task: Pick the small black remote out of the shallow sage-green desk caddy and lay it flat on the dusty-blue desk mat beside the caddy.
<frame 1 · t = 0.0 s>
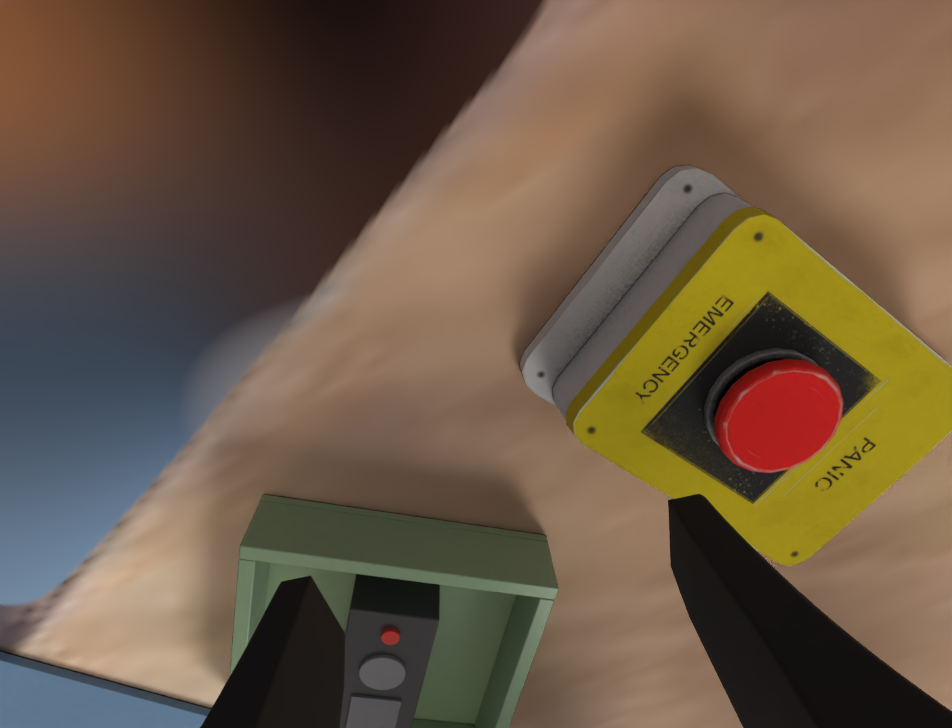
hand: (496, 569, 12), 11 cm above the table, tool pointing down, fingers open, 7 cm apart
remote: (385, 630, 26), resting on caddy
caddy: (386, 623, 27), on the table
emergency button: (738, 376, 22), on the table
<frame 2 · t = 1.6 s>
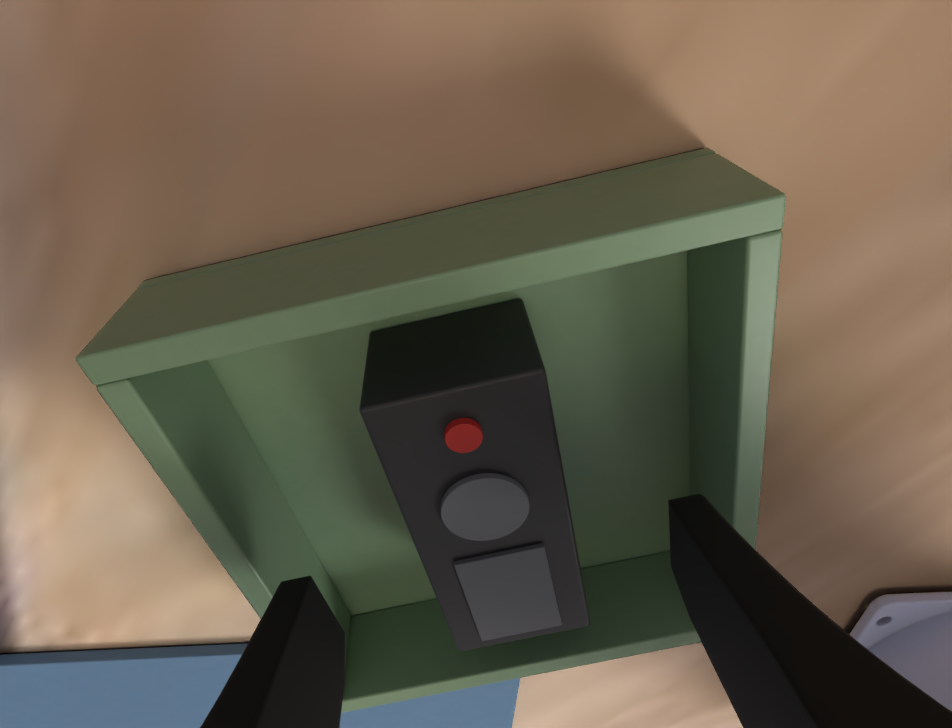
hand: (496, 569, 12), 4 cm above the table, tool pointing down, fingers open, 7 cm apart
remote: (482, 449, 15), resting on caddy
caddy: (480, 438, 15), on the table
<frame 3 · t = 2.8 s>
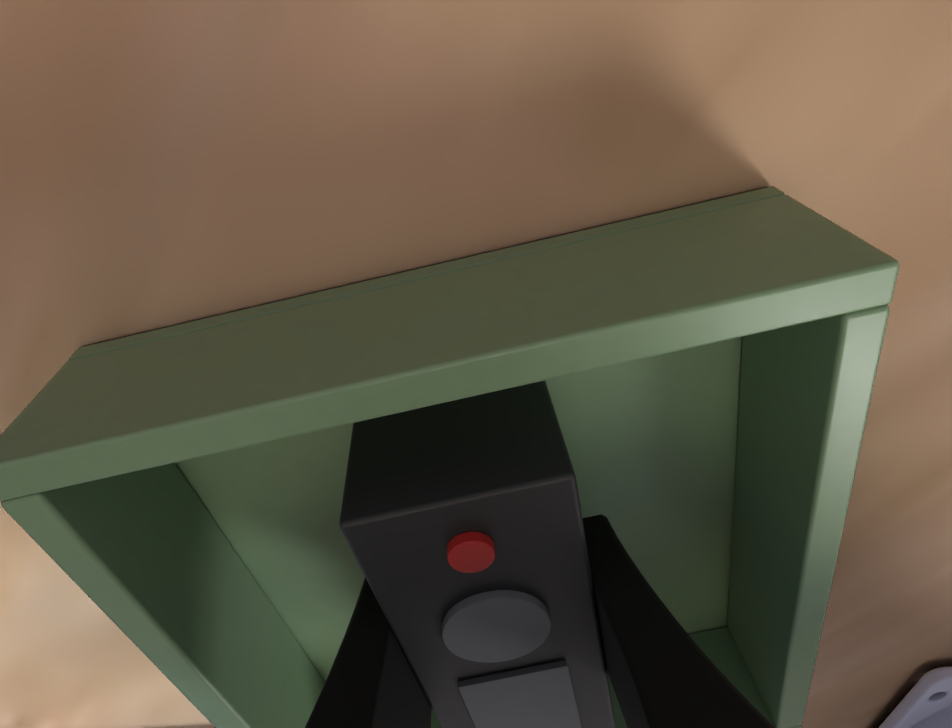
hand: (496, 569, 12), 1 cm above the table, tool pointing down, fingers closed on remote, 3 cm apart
remote: (490, 530, 13), resting on caddy, touching gripper
caddy: (488, 516, 13), on the table
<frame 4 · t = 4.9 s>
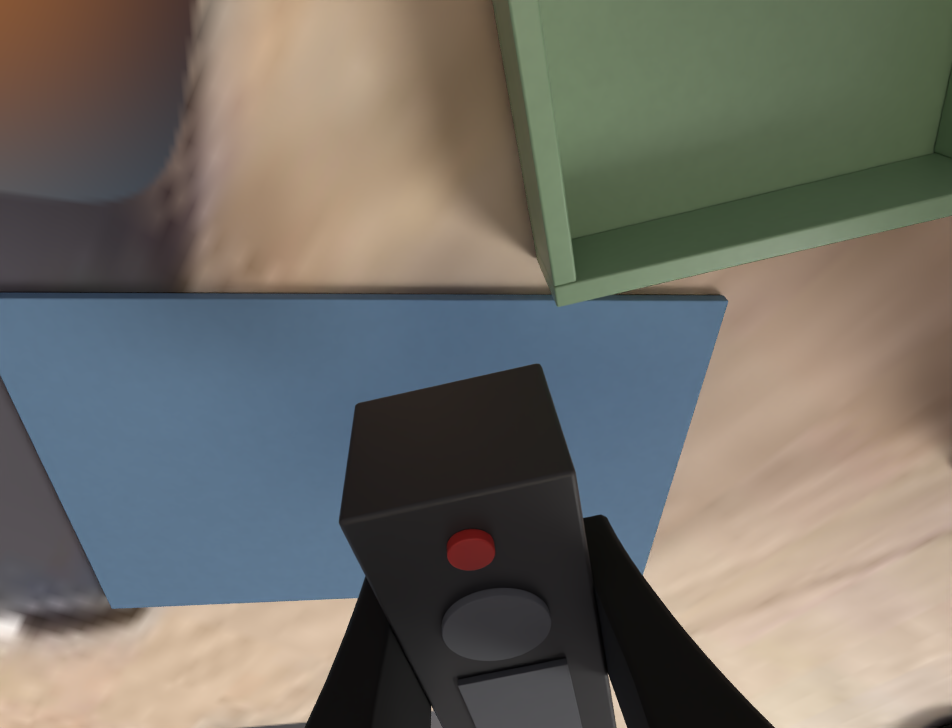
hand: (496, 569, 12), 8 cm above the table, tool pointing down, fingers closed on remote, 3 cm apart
remote: (490, 528, 13), point 7 cm above the table, touching gripper
mat: (379, 467, 21), on the table
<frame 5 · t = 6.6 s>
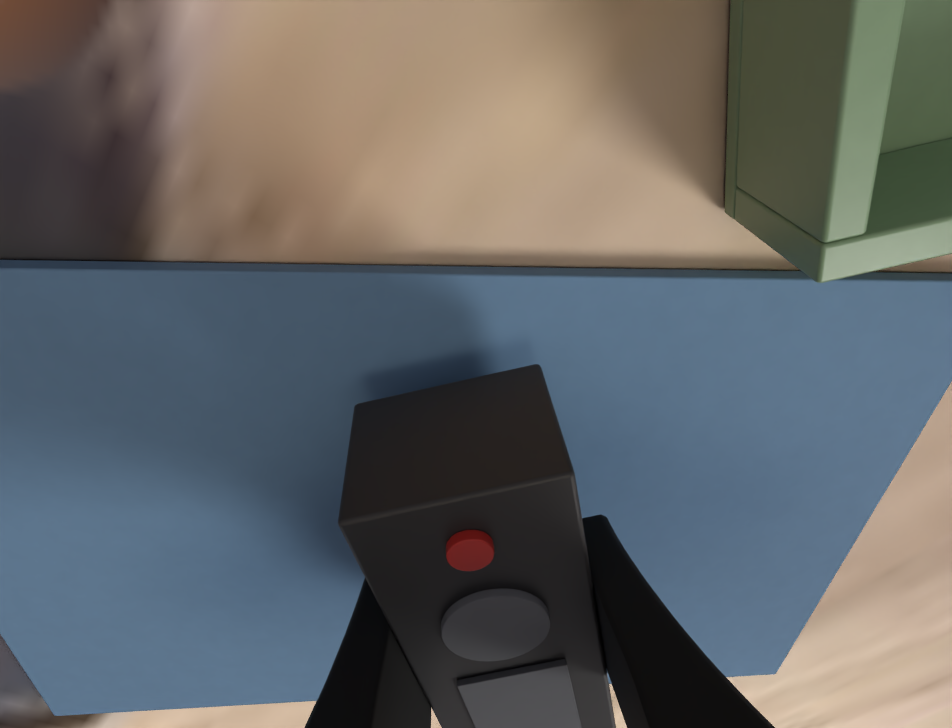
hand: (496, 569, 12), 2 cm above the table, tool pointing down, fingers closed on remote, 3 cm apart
remote: (489, 529, 13), point 1 cm above the table, touching gripper
mat: (441, 527, 15), on the table
when the fingers open (1 cm above the table, at t = 7.3 s): remote stays where it is, resting on mat.
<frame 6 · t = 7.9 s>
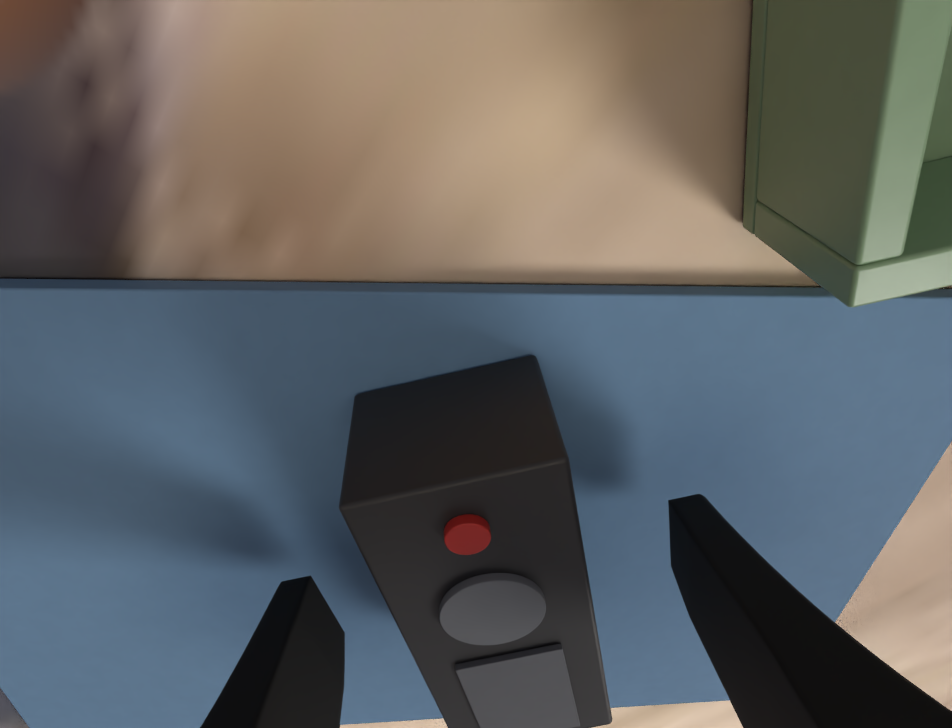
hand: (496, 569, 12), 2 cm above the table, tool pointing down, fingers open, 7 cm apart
remote: (487, 518, 13), resting on mat
mat: (441, 551, 14), on the table
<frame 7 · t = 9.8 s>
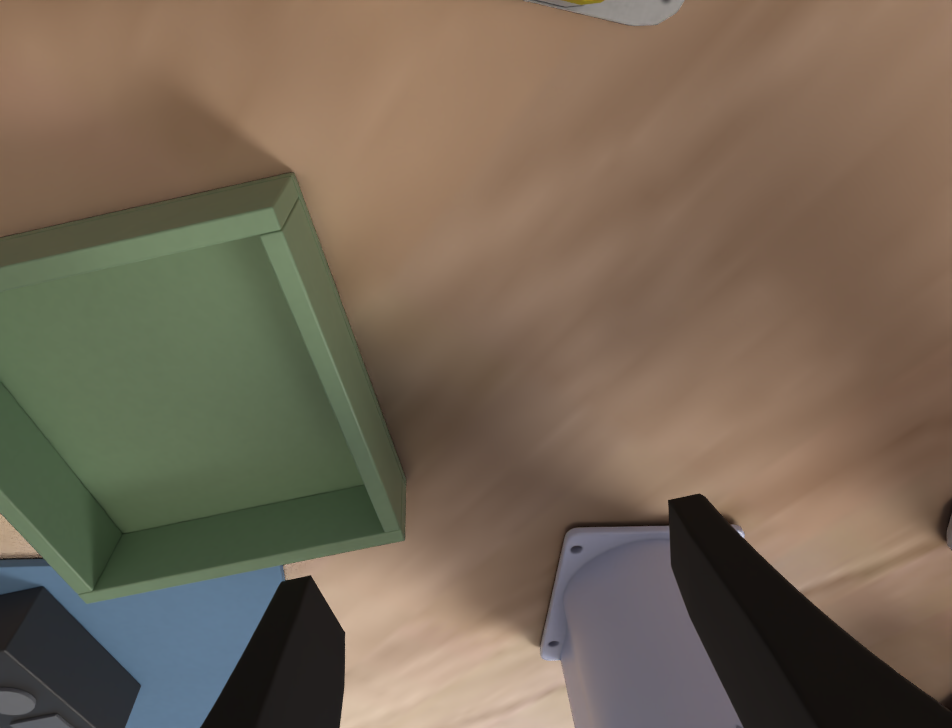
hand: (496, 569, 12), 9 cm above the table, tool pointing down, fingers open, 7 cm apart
remote: (60, 646, 26), resting on mat
caddy: (192, 387, 20), on the table
mat: (53, 658, 27), on the table
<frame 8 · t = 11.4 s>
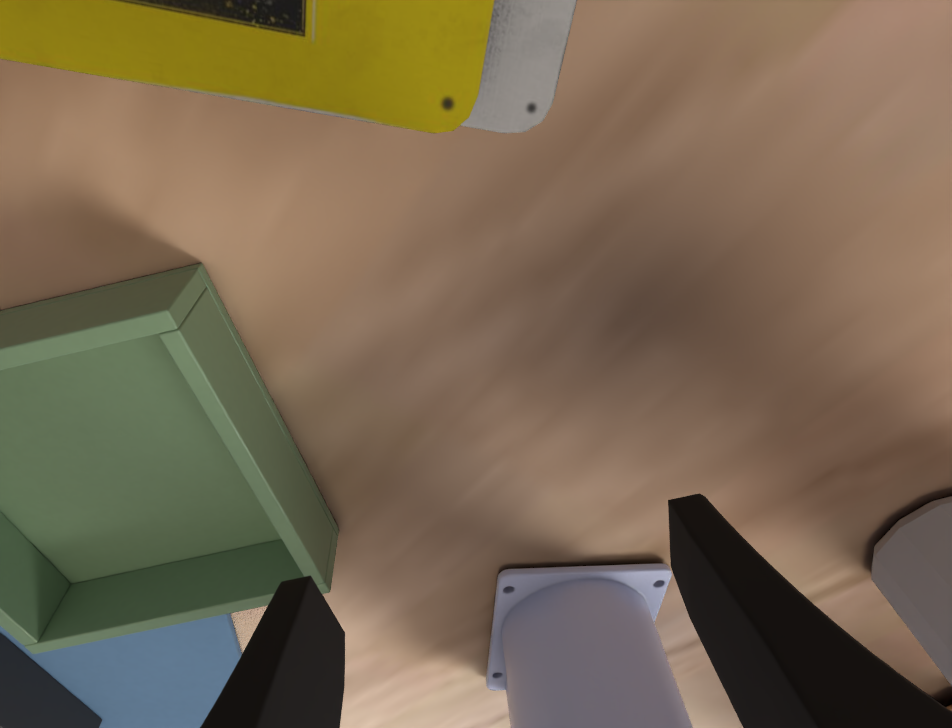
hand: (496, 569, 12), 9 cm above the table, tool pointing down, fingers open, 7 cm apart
remote: (21, 685, 28), resting on mat
caddy: (125, 452, 21), on the table
mat: (17, 695, 29), on the table
water bottle: (925, 545, 29), on the table
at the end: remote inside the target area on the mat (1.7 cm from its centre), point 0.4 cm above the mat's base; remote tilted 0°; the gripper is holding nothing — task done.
